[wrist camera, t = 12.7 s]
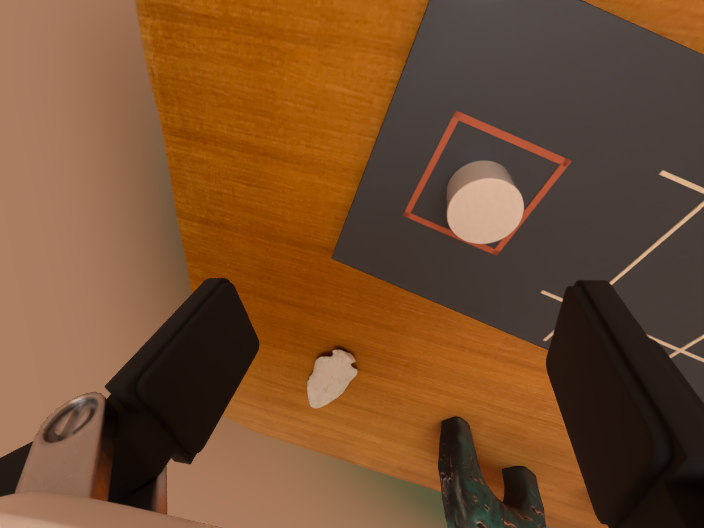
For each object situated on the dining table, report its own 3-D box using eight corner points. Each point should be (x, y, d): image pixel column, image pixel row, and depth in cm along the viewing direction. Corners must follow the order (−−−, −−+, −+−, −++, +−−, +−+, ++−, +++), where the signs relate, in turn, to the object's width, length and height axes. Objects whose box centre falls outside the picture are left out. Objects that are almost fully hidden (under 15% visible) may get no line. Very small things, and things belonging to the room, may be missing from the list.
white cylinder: (446, 162, 25) (447, 181, 21) (517, 157, 23) (529, 175, 20) (445, 221, 27) (446, 245, 24) (509, 219, 26) (519, 243, 23)
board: (333, 253, 33) (330, 259, 32) (451, -54, 19) (451, -59, 18) (814, 456, 34) (824, 468, 33) (1277, 314, 20) (1316, 327, 19)
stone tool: (326, 334, 41) (299, 396, 50) (322, 347, 39) (295, 408, 48) (367, 350, 42) (333, 408, 50) (365, 363, 40) (330, 421, 48)
